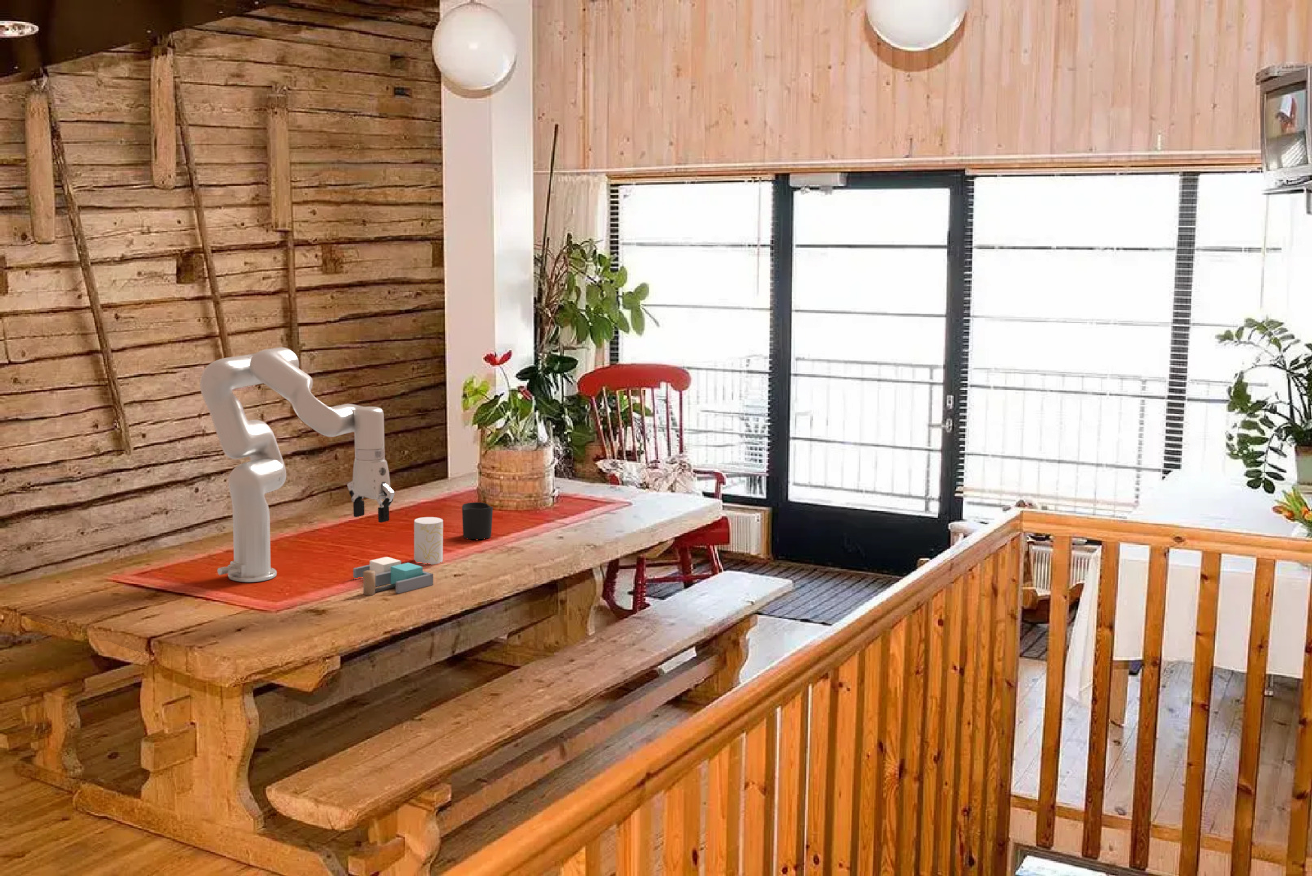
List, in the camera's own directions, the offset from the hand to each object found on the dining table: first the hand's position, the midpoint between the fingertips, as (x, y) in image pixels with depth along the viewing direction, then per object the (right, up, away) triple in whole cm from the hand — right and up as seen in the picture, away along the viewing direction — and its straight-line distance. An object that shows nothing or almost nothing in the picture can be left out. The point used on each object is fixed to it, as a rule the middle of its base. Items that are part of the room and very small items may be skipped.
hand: (371, 518), depth 340 cm
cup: (+9, -15, +36) cm, 40 cm away
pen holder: (+19, -10, +65) cm, 68 cm away
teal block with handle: (+4, -19, +7) cm, 21 cm away
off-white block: (0, -17, +17) cm, 24 cm away
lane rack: (+3, -18, +14) cm, 23 cm away
